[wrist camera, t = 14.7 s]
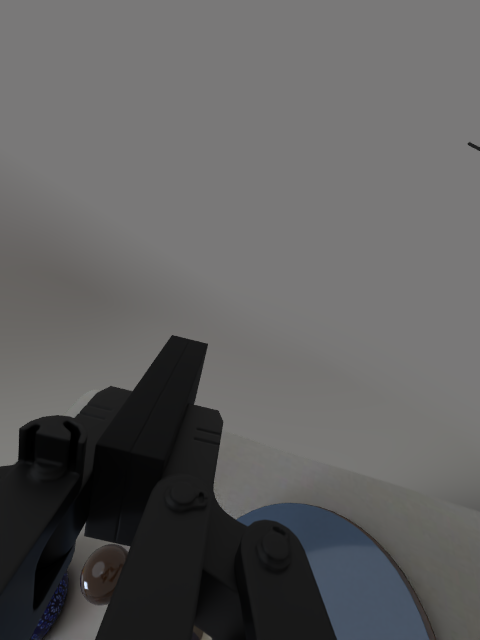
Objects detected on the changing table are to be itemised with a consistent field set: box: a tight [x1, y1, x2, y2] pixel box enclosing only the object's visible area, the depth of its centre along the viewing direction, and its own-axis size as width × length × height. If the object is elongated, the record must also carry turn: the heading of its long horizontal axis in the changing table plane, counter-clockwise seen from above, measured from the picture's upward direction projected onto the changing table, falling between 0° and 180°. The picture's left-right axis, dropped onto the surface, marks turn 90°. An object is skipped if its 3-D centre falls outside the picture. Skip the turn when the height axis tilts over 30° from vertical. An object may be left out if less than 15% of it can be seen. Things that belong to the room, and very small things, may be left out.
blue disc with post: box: [80, 503, 430, 640], centre depth 24 cm, size 24×24×17 cm
